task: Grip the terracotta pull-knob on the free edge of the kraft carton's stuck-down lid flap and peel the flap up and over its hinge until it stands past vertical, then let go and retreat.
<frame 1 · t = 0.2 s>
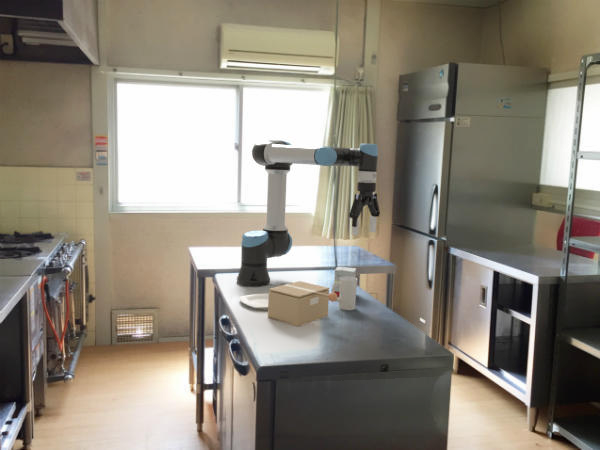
hand: (363, 233, 234), 28 cm above the countertop, fingers open, 13 cm apart
mug: (342, 308, 223), on the countertop
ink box: (344, 295, 243), on the countertop
plate: (265, 305, 224), on the countertop
flap: (309, 291, 205), point 11 cm above the countertop, hinge at 0.0°
carton: (298, 316, 209), on the countertop
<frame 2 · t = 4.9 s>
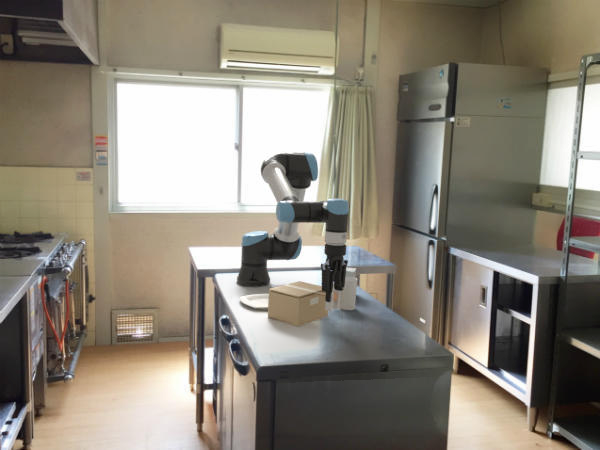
hand: (332, 309, 199), 6 cm above the countertop, fingers closed on flap, 3 cm apart
flap: (309, 291, 205), point 11 cm above the countertop, hinge at 0.0°, touching gripper
everything else where it was.
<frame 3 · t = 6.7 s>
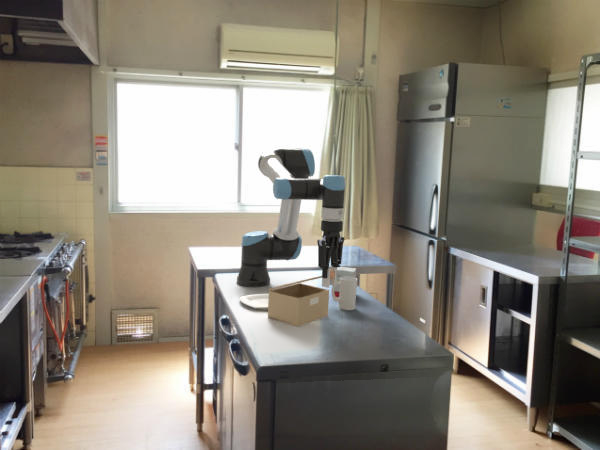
hand: (328, 285, 199), 14 cm above the countertop, fingers closed on flap, 3 cm apart
flap: (308, 279, 205), point 15 cm above the countertop, hinge at 20.6°, touching gripper
everything else where it was.
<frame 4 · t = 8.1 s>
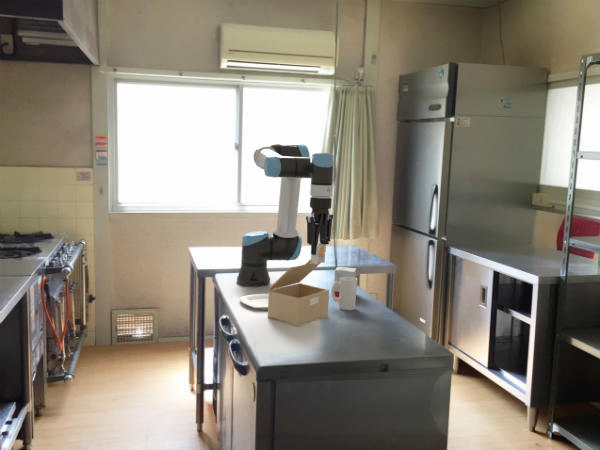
hand: (317, 262, 201), 22 cm above the countertop, fingers closed on flap, 3 cm apart
flap: (302, 268, 206), point 19 cm above the countertop, hinge at 43.6°, touching gripper
everything else where it was.
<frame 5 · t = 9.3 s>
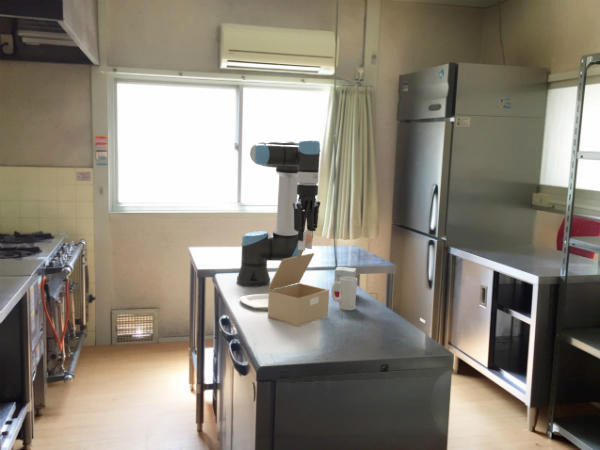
hand: (304, 248, 204), 26 cm above the countertop, fingers closed on flap, 3 cm apart
flap: (296, 261, 207), point 21 cm above the countertop, hinge at 61.9°, touching gripper
everything else where it was.
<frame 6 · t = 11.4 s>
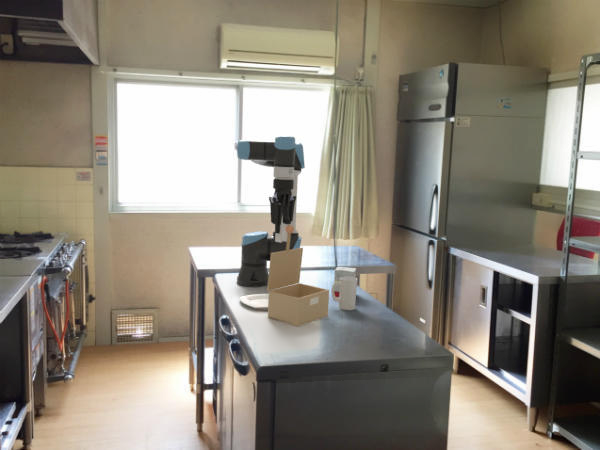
hand: (281, 241, 211), 27 cm above the countertop, fingers open, 2 cm apart
flap: (286, 256, 210), point 22 cm above the countertop, hinge at 85.3°
everything else where it was.
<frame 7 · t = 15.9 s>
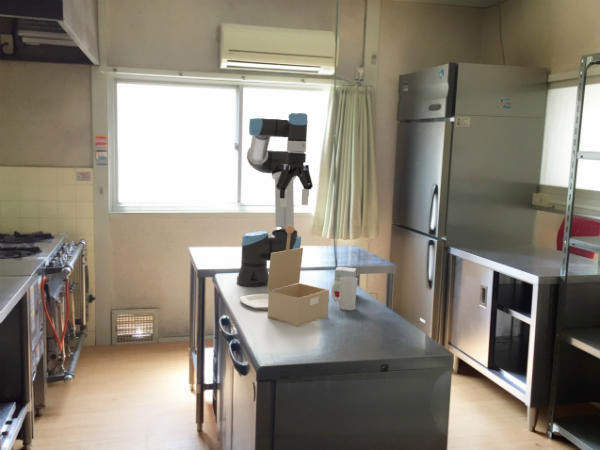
hand: (294, 205, 227), 39 cm above the countertop, fingers open, 13 cm apart
nothing on the countertop moved.
at the end: flap at +85° (first picture: +0°); the gripper is holding nothing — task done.
